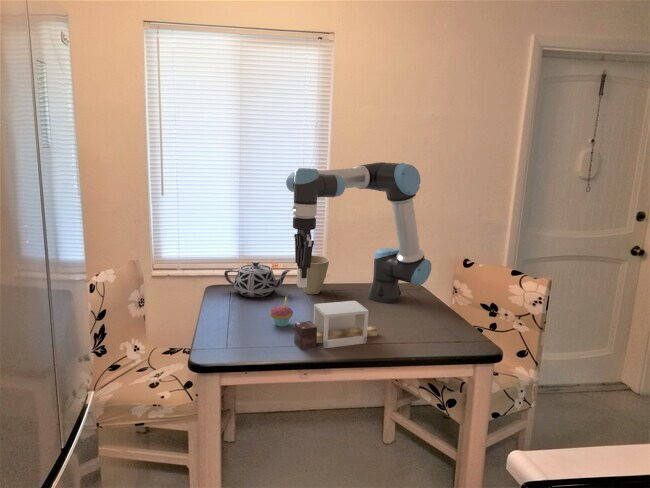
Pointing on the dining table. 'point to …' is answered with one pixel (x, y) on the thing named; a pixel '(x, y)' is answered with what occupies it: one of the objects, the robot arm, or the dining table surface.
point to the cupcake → (281, 314)
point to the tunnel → (339, 321)
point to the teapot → (255, 280)
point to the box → (305, 335)
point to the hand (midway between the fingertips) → (301, 286)
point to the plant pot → (316, 274)
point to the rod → (347, 333)
